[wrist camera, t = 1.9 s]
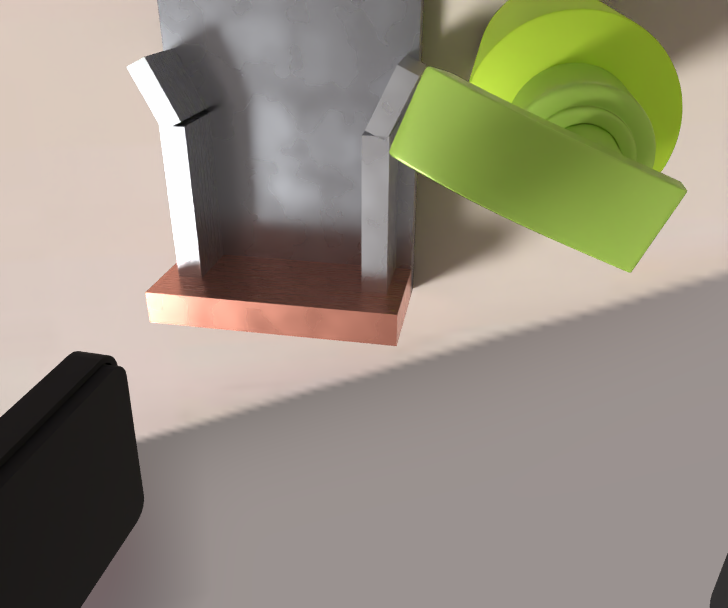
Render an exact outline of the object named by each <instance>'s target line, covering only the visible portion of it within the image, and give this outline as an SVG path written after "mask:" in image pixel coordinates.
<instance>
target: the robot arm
mask: <svg viewBox="0 0 728 608" xmlns="http://www.w3.org/2000/svg"><path fill="white" fill-rule="evenodd" d="M143 503H144V494H143V487H142V480H141V473H140V466H139V459H138V452H137V445H136V438H135V431H134V424H133V417H132V410H131V403H130V395H129V388H128V381H127V375H126V371H125V370H124V368H123V367H121V366H118V365H117V362H116V360H115V359H114V358H113V357H112V356H109V355H102V354H95V353H88V352H81V351H76V352H73V353H71V354H70V355H68V356H67V357H66V358H65V359H64V360H63V361H62V362H61V363H60V364H59V365H57V366H56V367H55V368H54V369H53V370H52V371H51V372H50V373H49V374H48V375H46V376H45V377H44V378H43V379H42V380H41V381H40V382H39V383H38V384H37V385H35V386H34V387H33V388H32V389H31V390H30V391H29V392H28V393H27V394H26V395H24V396H23V397H22V398H21V399H20V400H19V401H18V402H17V403H16V404H15V405H13V406H12V407H11V408H10V409H9V410H8V411H7V412H6V413H5V414H4V415H2V416H1V417H0V608H81V606H82V604H83V603H84V602H85V600H86V599H87V597H88V595H89V594H90V592H91V591H92V589H93V588H94V586H95V585H96V583H97V582H98V580H99V579H100V577H101V576H102V574H103V573H104V571H105V570H106V568H107V567H108V565H109V563H110V562H111V561H112V559H113V558H114V556H115V554H116V553H117V552H118V550H119V548H120V547H121V545H122V544H123V542H124V541H125V539H126V538H127V536H128V535H129V533H130V532H131V530H132V529H133V527H134V526H135V524H136V523H137V521H138V519H139V517H140V514H141V512H142V509H143ZM710 608H728V554H727V556H726V559H725V562H724V564H723V567H722V569H721V572H720V575H719V577H718V580H717V582H716V585H715V588H714V590H713V593H712V596H711V600H710Z"/></svg>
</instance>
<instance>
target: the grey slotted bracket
mask: <svg viewBox="0 0 728 608" xmlns="http://www.w3.org/2000/svg"><path fill="white" fill-rule="evenodd" d="M157 3H158V11H159V19H160V27H161V35H162V43H163V51H162V52H159V53H156V54H152V55H149V56H146V57H143V58H141V59H140V60H138V61H136V62H134V63H133V64H131V65H129V66H127V69H128V71H129V72H130V74H131V76H132V78H133V79H134V81H135V83H136V85H137V86H138V88H139V90H140V92H141V93H142V95H143V97H144V99H145V100H146V102H147V104H148V106H149V107H150V109H151V111H152V113H153V114H154V116H155V118H156V120H157V121H158V123H159V125H160V126H159V129H160V137H161V144H162V152H163V160H164V167H165V175H166V182H167V190H168V197H169V205H170V212H171V220H172V228H173V235H174V243H175V250H176V258H177V263H176V264H175V265H174V266H173V267H172V268H171V269H170V270H169V271H167V272H166V273H165V274H164V275H163V276H162V277H161V278H160V279H159V280H158V281H157V282H156V283H155V284H154V285H153V286H152V287H151V288H150V289H148V290H147V291H146V292H145V293H146V300H147V306H148V312H149V319H150V322H153V323H163V324H174V325H184V326H194V327H205V328H215V329H225V330H236V331H246V332H257V333H267V334H277V335H288V336H298V337H308V338H319V339H329V340H339V341H350V342H360V343H371V344H381V345H391V346H397V343H398V339H399V335H400V332H401V328H402V325H403V321H404V318H405V314H406V311H407V307H408V304H409V300H410V297H411V293H412V289H413V266H414V240H415V213H416V187H417V171H415V170H414V169H412V168H410V167H408V166H407V165H405V164H403V163H402V162H400V161H398V160H397V159H395V158H394V157H392V156H391V155H390V153H389V151H390V147H391V145H392V143H393V140H394V138H395V136H396V133H397V131H398V129H399V126H400V124H401V122H402V120H403V117H404V115H405V113H406V110H407V108H408V106H409V104H410V101H411V99H412V97H413V95H414V92H415V90H416V88H417V86H418V83H419V81H420V79H421V76H422V74H423V72H424V70H425V68H426V66H427V65H425V64H423V63H421V56H422V30H423V4H424V0H157Z"/></svg>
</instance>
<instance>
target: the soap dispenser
mask: <svg viewBox="0 0 728 608" xmlns="http://www.w3.org/2000/svg"><path fill="white" fill-rule="evenodd" d="M681 120H682V93H681V87H680V83H679V79H678V76H677V73H676V70H675V68H674V65H673V63H672V61H671V59H670V58H669V56H668V54H667V53H666V51H665V50H664V48H663V47H662V46H661V44H660V43H659V42H658V41H657V40H656V39H655V38H654V37H653V36H652V35H651V34H650V33H649V32H648V31H646V30H645V29H644V28H642V27H641V26H640V25H638V24H637V23H635V22H633V21H632V20H630V19H628V18H627V17H625V16H623V15H622V14H620V13H618V12H617V11H615V10H613V9H612V8H610V7H608V6H607V5H605V4H603V3H602V2H600V1H598V0H509V1H507V2H506V3H505V4H504V5H503V6H502V7H501V8H500V9H499V10H498V11H497V12H496V13H495V15H494V16H493V17H492V19H491V20H490V22H489V24H488V25H487V27H486V29H485V32H484V34H483V37H482V40H481V43H480V46H479V50H478V53H477V56H476V60H475V63H474V66H473V69H472V73H471V76H470V79H469V82H468V81H466V80H464V79H462V78H460V77H458V76H456V75H454V74H452V73H450V72H448V71H445V70H441V69H437V68H434V67H430V66H429V67H426V69H425V70H424V72H423V75H422V77H421V79H420V81H419V83H418V86H417V88H416V90H415V92H414V95H413V97H412V99H411V101H410V104H409V106H408V108H407V110H406V113H405V115H404V117H403V120H402V122H401V124H400V126H399V129H398V131H397V133H396V136H395V138H394V140H393V143H392V145H391V147H390V151H389V153H390V155H391V156H392V157H394V158H395V159H397V160H398V161H400V162H402V163H403V164H405V165H407V166H408V167H410V168H412V169H414V170H415V171H417V172H419V173H421V174H423V175H424V176H426V177H428V178H430V179H431V180H433V181H435V182H437V183H439V184H440V185H442V186H444V187H446V188H448V189H450V190H451V191H453V192H455V193H457V194H459V195H461V196H463V197H465V198H466V199H468V200H470V201H472V202H474V203H476V204H478V205H480V206H482V207H484V208H486V209H488V210H490V211H492V212H494V213H496V214H498V215H500V216H503V217H505V218H507V219H509V220H511V221H513V222H515V223H517V224H520V225H522V226H524V227H526V228H528V229H530V230H533V231H535V232H537V233H539V234H542V235H544V236H546V237H548V238H551V239H553V240H555V241H557V242H560V243H562V244H564V245H566V246H569V247H571V248H573V249H576V250H578V251H580V252H582V253H585V254H587V255H589V256H592V257H594V258H596V259H599V260H601V261H603V262H606V263H608V264H610V265H613V266H615V267H617V268H620V269H622V270H624V271H627V272H629V273H630V272H632V270H633V269H634V267H635V266H636V265H637V263H638V262H639V260H640V259H641V257H642V256H643V255H644V253H645V252H646V250H647V249H648V247H649V246H650V244H651V243H652V242H653V240H654V239H655V237H656V236H657V234H658V233H659V232H660V230H661V229H662V227H663V226H664V224H665V223H666V221H667V220H668V219H669V217H670V216H671V214H672V213H673V211H674V210H675V209H676V207H677V206H678V204H679V203H680V201H681V200H682V198H683V197H684V196H685V194H686V192H687V190H686V188H685V187H684V186H683V184H682V183H681V182H680V181H678V180H676V179H673V178H671V177H669V176H667V175H665V174H663V173H661V171H662V170H663V168H664V167H665V165H666V163H667V162H668V160H669V158H670V156H671V154H672V152H673V150H674V147H675V145H676V142H677V139H678V135H679V131H680V126H681Z"/></svg>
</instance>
